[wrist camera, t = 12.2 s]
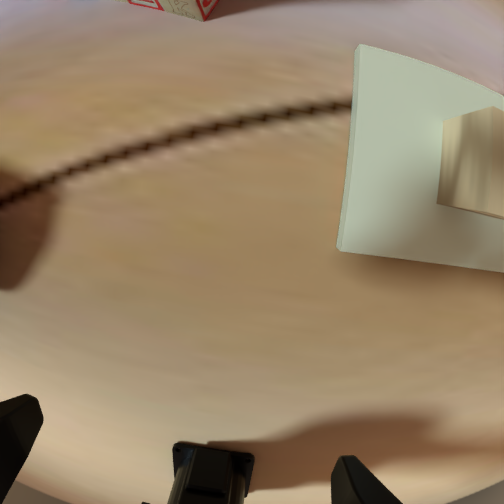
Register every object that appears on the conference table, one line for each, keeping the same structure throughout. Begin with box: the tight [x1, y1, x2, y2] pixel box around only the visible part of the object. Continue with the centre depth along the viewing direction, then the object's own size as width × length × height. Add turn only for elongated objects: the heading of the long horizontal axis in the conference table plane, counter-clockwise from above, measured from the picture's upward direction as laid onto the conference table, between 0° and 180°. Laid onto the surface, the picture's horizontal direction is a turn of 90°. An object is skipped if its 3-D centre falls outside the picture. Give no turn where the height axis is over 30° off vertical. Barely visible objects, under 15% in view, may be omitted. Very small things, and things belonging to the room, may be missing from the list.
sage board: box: [336, 44, 504, 273], centre depth 16 cm, size 12×16×1 cm
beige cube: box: [436, 106, 504, 220], centre depth 13 cm, size 5×5×5 cm
